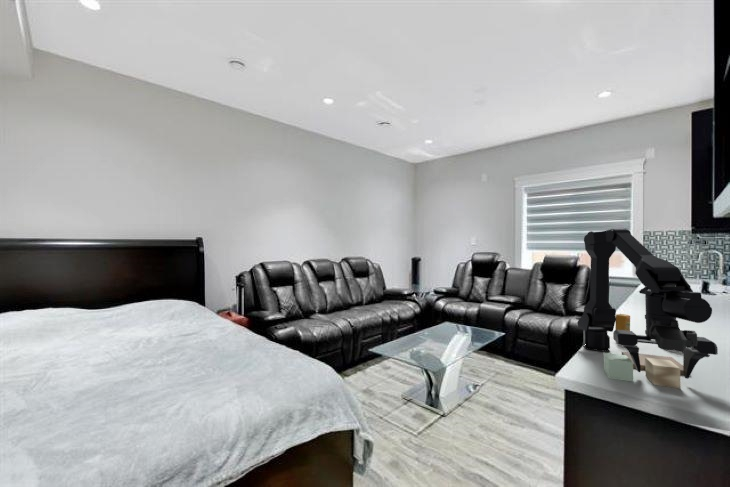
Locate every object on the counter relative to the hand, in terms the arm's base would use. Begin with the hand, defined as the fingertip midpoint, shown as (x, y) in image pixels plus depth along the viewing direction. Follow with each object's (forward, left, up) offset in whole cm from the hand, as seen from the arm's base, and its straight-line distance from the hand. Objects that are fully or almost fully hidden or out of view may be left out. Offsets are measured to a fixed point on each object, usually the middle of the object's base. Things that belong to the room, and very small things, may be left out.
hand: (661, 374), depth 80 cm
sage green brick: (-9, 0, -2) cm, 9 cm away
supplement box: (0, +37, -2) cm, 37 cm away
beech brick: (0, 0, -2) cm, 2 cm away
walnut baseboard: (+2, +14, -2) cm, 14 cm away
